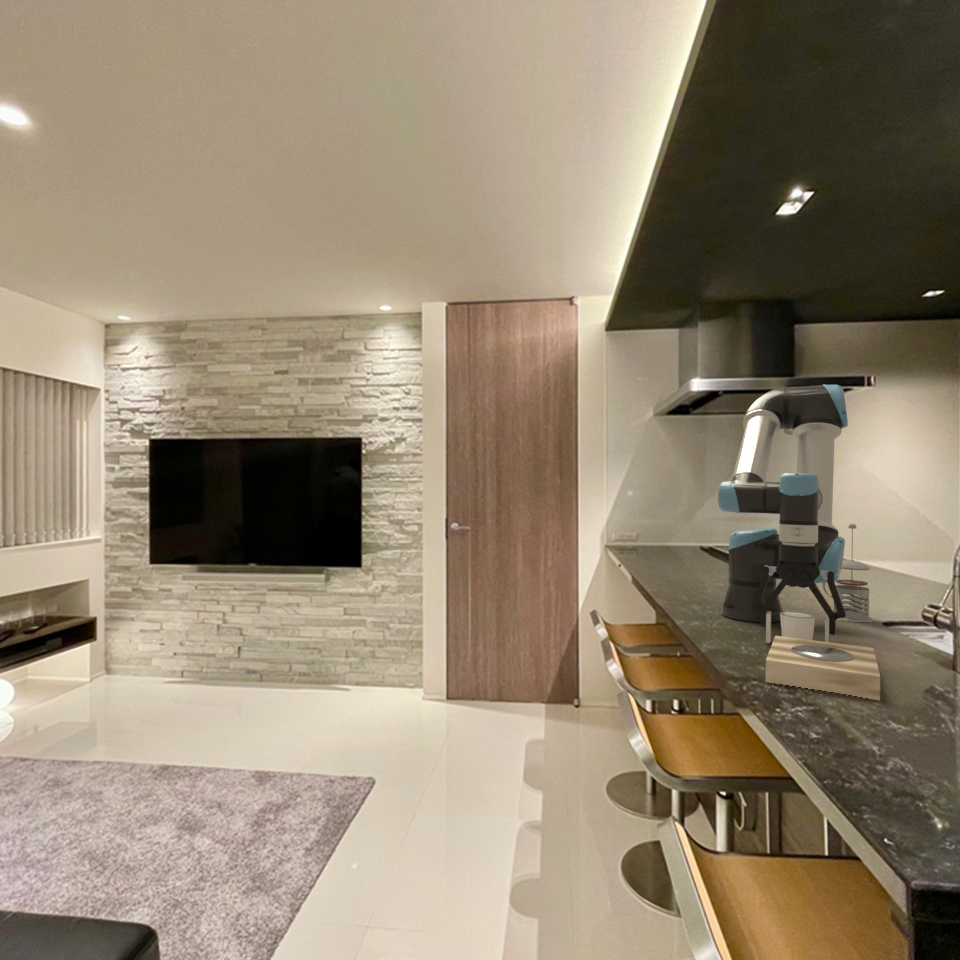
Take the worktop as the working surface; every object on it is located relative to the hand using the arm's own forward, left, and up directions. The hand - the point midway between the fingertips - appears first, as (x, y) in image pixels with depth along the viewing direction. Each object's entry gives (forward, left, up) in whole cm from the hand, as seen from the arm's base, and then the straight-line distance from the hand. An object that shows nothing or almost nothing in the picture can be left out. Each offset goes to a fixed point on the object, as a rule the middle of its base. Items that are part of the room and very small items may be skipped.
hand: (796, 645), depth 132 cm
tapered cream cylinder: (0, 0, 0) cm, 0 cm away
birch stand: (+20, +5, 0) cm, 21 cm away
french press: (-39, +10, 0) cm, 40 cm away
